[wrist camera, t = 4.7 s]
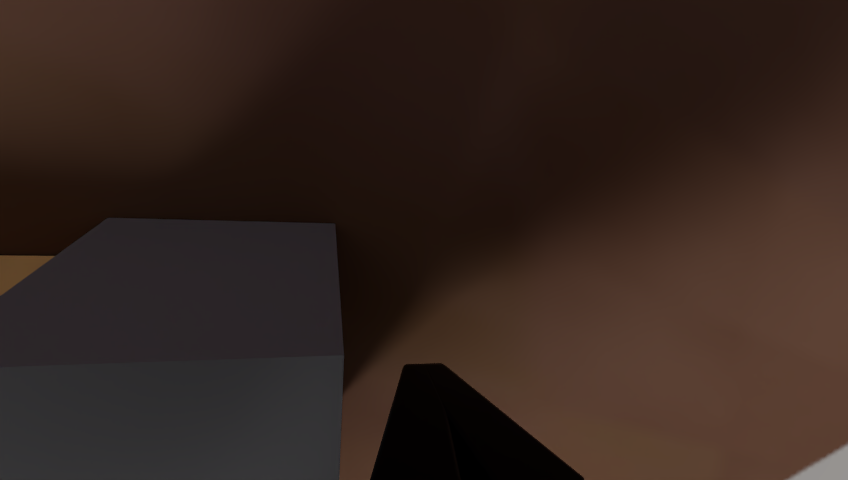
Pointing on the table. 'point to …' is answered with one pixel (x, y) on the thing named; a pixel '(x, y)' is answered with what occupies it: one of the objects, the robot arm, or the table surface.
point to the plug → (174, 354)
